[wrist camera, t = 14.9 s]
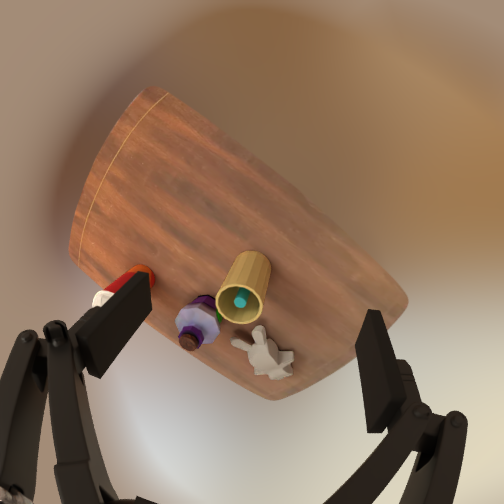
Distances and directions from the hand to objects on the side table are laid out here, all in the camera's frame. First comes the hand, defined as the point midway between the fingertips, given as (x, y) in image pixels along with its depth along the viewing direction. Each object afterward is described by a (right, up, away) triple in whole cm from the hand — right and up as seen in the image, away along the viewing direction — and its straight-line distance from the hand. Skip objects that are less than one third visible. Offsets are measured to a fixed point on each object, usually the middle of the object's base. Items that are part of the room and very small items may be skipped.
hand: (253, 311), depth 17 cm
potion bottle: (-9, -7, +41) cm, 42 cm away
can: (0, +1, +36) cm, 36 cm away
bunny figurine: (+3, -16, +43) cm, 46 cm away
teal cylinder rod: (0, 0, +35) cm, 35 cm away
